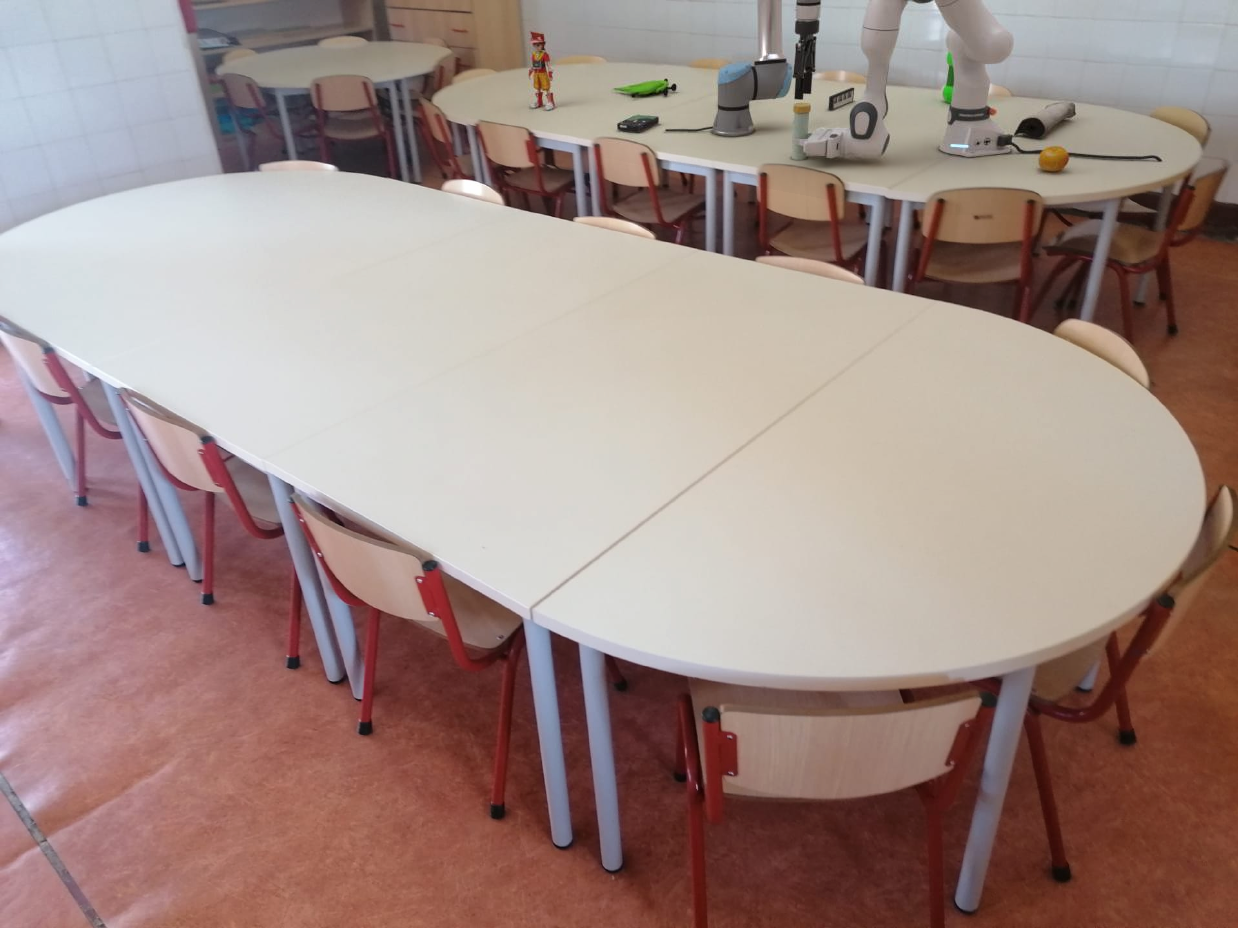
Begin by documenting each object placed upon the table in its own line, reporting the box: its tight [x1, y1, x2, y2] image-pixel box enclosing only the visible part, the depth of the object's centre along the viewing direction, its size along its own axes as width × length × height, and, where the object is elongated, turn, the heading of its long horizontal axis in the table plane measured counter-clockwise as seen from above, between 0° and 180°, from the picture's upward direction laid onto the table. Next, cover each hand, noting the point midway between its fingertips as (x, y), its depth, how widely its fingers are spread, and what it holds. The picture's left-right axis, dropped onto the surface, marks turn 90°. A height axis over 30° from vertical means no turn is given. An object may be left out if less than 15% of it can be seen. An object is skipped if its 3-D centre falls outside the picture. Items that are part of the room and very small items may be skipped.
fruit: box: [1037, 145, 1070, 172], centre depth 278 cm, size 8×8×8 cm
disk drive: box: [616, 114, 660, 133], centre depth 347 cm, size 10×3×15 cm
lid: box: [792, 102, 812, 113], centre depth 296 cm, size 6×6×2 cm
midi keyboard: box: [827, 87, 855, 111], centre depth 358 cm, size 18×1×5 cm, turn 138°
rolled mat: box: [1013, 101, 1077, 140], centre depth 317 cm, size 30×9×10 cm
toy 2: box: [612, 78, 677, 99], centre depth 396 cm, size 28×5×30 cm
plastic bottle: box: [942, 50, 954, 104], centre depth 348 cm, size 10×10×25 cm
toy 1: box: [527, 31, 556, 111], centre depth 374 cm, size 12×9×30 cm
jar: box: [791, 111, 810, 161], centre depth 300 cm, size 5×5×17 cm
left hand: (802, 96), depth 294 cm, fingers open, 7 cm apart
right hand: (797, 138), depth 302 cm, fingers closed on jar, 5 cm apart
